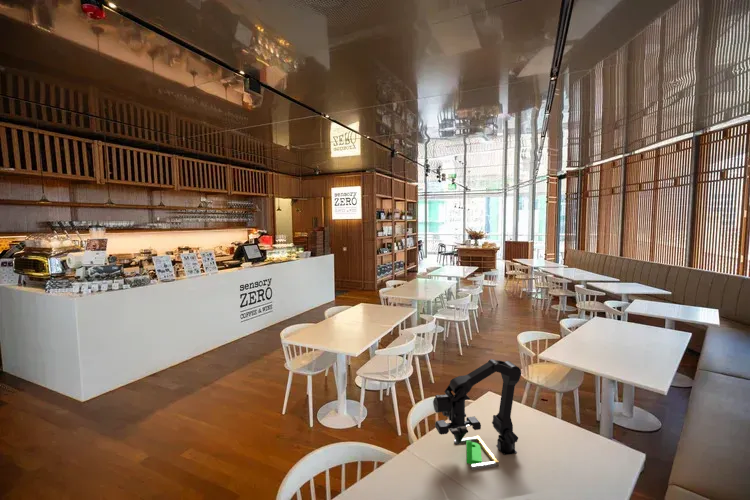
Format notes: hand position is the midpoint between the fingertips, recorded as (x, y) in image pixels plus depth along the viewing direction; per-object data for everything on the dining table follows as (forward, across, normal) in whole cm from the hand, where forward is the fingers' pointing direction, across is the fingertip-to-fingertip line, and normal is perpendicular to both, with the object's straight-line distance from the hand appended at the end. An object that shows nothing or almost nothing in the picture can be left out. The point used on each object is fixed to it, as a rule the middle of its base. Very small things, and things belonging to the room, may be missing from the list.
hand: (457, 443), depth 143 cm
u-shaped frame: (+6, -8, 0) cm, 10 cm away
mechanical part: (+6, -7, 0) cm, 10 cm away
